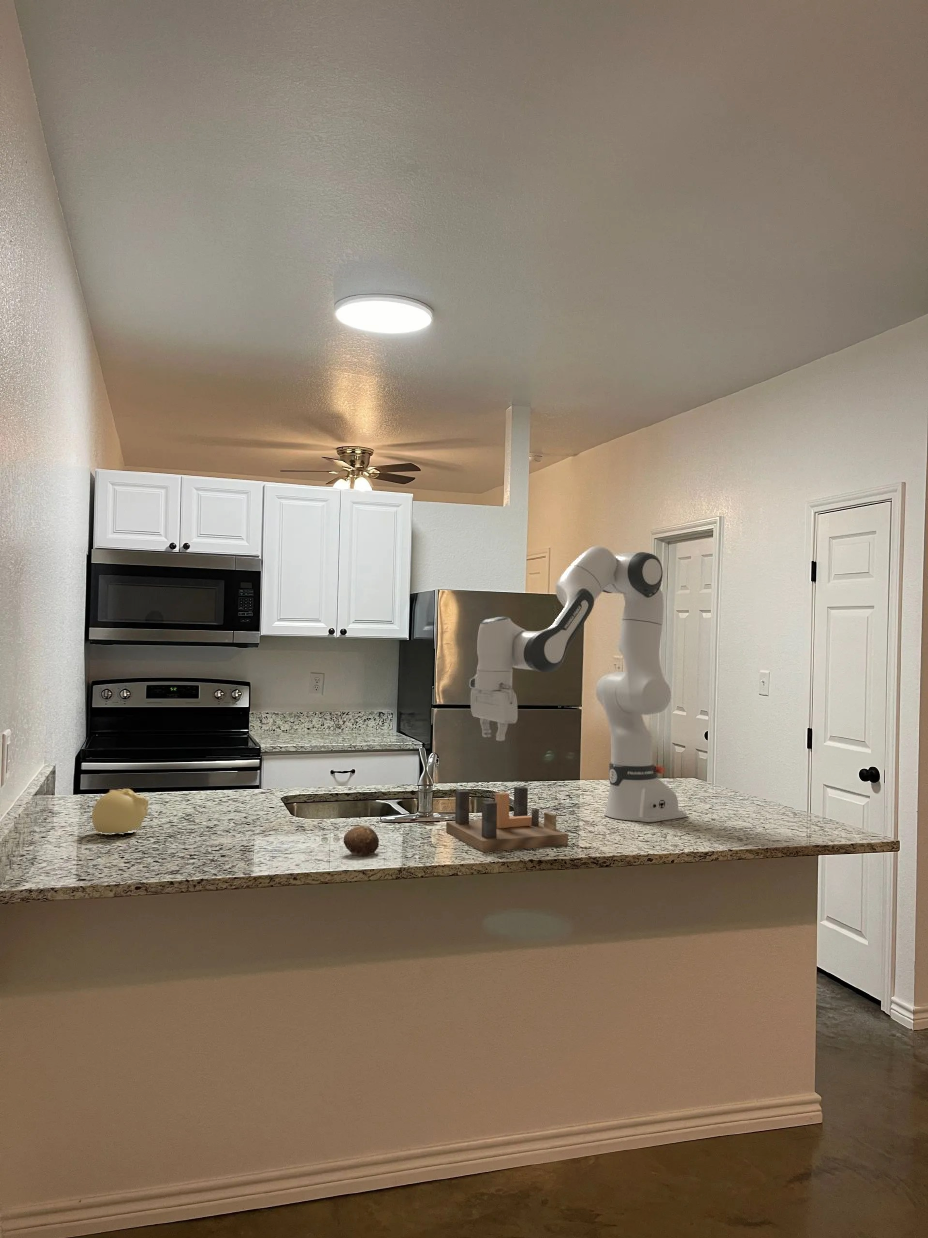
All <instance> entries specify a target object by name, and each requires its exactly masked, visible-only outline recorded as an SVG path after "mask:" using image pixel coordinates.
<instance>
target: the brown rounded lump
mask: <svg viewBox="0 0 928 1238" xmlns="http://www.w3.org/2000/svg"><path fill="white" fill-rule="evenodd" d="M342 842H343V844H344V846H345V848H346V849H347V850H348V851H349V852H350V853H352V854H353V855H355V856H360V857H366V856H369V855H373V854H374V853H375V852H376V851H377V850H378V848H379V846H380V845H379V844H380V843H379V842H380V839H379V836H378V834H377V833H376V832H375V830H374V829H372V828H371V827H370V826H366V825H359V826H355V827H352V828H351V829H349V830H348V831H346V833H345V834H344V836H343V841H342Z"/></svg>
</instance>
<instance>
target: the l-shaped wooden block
mask: <svg viewBox="0 0 928 1238" xmlns="http://www.w3.org/2000/svg"><path fill="white" fill-rule="evenodd" d="M494 802H496V803H497V827H498V828H509V827H518V826H531V824H532V816H530V815H528V816H516V817H514V816H510V793H507V792H505V791H504V792H495V793H494Z"/></svg>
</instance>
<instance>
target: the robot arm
mask: <svg viewBox="0 0 928 1238" xmlns="http://www.w3.org/2000/svg"><path fill="white" fill-rule="evenodd" d="M663 572H664V571H663V566H662V563H661V561H660V558H658V556H656V555H654V554H653V553H650V552H647V551H646V552H644V551H640V552H635V551H634V552H632V551H631V552H630V551H629V552H628V551H627V552H621V553H615V554H613V552H611V551H610V549H608V548H606V547H605V546H600V545H595V546H591V547H589V548H588V549H586V550H585V551H583V552H582V553H581V554H580V555H579V556H578V557H576V558H575V559H574V560H573V561H572V562H571V563H570V564H569V566H567V568H566V569H565V570H564V571H563V572H562V573H561V575H560V576H559V578H558V579H557V581H556V583H555V595H556V597H557V600H558V601H559V602H560V604H561V605H562V606H563V609H562V610H561V612H559V615H557V617H556V618H555V620H554V622H553V623H552V625H550V626H548V627H547V628H545V629H542V630H538V631H537V630H536V631H535V630H526V629H524V628H523V627H520V626H519V625H517V624H516V623H514V622H513V621H512V619H511V618H510V617H508V616H497V617H496V616H495V617H489V618H486V619H484V620H483V621H481V622H480V624H479V628H478V632H477V643H476V644H477V645H476V654H477V658H478V663H477V667H476V674H475V675H474V676H473V677H472V678H470V679H469V683H468V685H469V688H471V691H470V711H471V712H470V713H471V715H472V717H474V718H479V723H480V727H481V730H482V733H481V736H482V737H484V738H491V737H492V729H491V728H490V722H491V721H492V722H496V723H497V725H496V726H497V731H496V733H495V740H496V741H498V742H503V741H505V740H506V732H507V731H508V726H509V725H508V724H516V723H517V721H518V720H519V719H518V717H519V716H518V712H519V711H518V700H517V695H516V693H515V691H514V689H513V668H515V669H519V670H520V669H521V670H529V671H530V670H531V671H536V672H542V673H551V672H552V673H553V672H554V671H556V670H557V669H559V668H560V666H561V665H562V664H563V662H564V660H565V657H566V656H567V652H568V649H569V647H570V645H571V643H572V642H573V640H574V639H575V637H576V635H577V634H578V632H579V631H580V629H581V628H582V627H583V626H584V623H586V620H587V619H588V618H589V616H590V614H591V613H592V610H593V608H594V605H595V601H596V600H597V599H598V597H599V596H600V595H601V594H602V592H603V593H606V594H621V595H622V596H623V598H624V607H623V610H622V611H623V612H622V617H621V623H620V631H619V639H618V644H617V645H618V651H619V653H620V654H621V655H622V657H623V660H624V667H625V671H615V672H610V673H607V674H604V675H602V676H601V678H600V679H599V680H598V682H597V684H596V686H595V695H596V698H597V700H598V701H599V704H601V706H602V707H603V710H604V712H605V716H606V719H607V723H608V728H609V731H610V732H609V734H610V750H611V751H610V762H609V765H608V777H609V778H608V780H609V781H608V782H609V788H608V789H609V791H608V797H607V803H606V806H605V807H606V808H605V810H604V816H606V817H609V818H612V819H616V820H623V821H636V822H643V823H654V822H660V821H667V820H675V819H681V818H687V817H688V813H687V812H686V811H685V810H683V809H680V808H679V802H678V801H679V800H678V796H677V794H676V792H675V791H674V790H673V789H672V788H670V787H669V786H668V785H666V784H665V782H663V781H662V780H661V779H659V778H658V777H659V776H658V774H661V775H663V774H664V773H665V771H666V768H665V767H664V766H661V765H657V766H656V765H654V764H653V736H652V733H651V732H650V730H649V729H648V728H647V726H646V723H645V721H644V718H643V715H644V716H649V715H655V714H659V713H662V712H663V711H665V710H666V708H668V707H669V705H670V702H671V699H672V692H671V688H670V686H669V683H667V681H666V680H665V678H664V676H663V673H662V667H661V661H660V647H661V639H662V631H663V630H662V629H663V623H664V594H663V591H662V590H661V585H662V581H663V576H664V575H663Z"/></svg>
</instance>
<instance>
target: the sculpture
mask: <svg viewBox="0 0 928 1238" xmlns="http://www.w3.org/2000/svg"><path fill="white" fill-rule="evenodd" d="M148 807H149V800H148V798H147V797H146V796H143V795H140V794H138V793H135V792H134V791H133V789H130V788H122V789H121V788H118V789H109V791H108V792H107V793H106V794H104V795H102V796H101V797H100V798H99V799H97V801H96V802H95V804H94V806H93V809H92V812H91V822H92V824H93V828H94V829H95V831H96V832H97V831H98V832H102V833H122V832H128V831H132V830H135V829H138V828H139V827H140V828H141V827H142V824H143V822H144V819H145V818H146V817H147V816H148V811H149V809H148ZM140 828H139V829H140ZM139 829H138V830H139ZM98 832H97V833H98Z"/></svg>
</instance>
